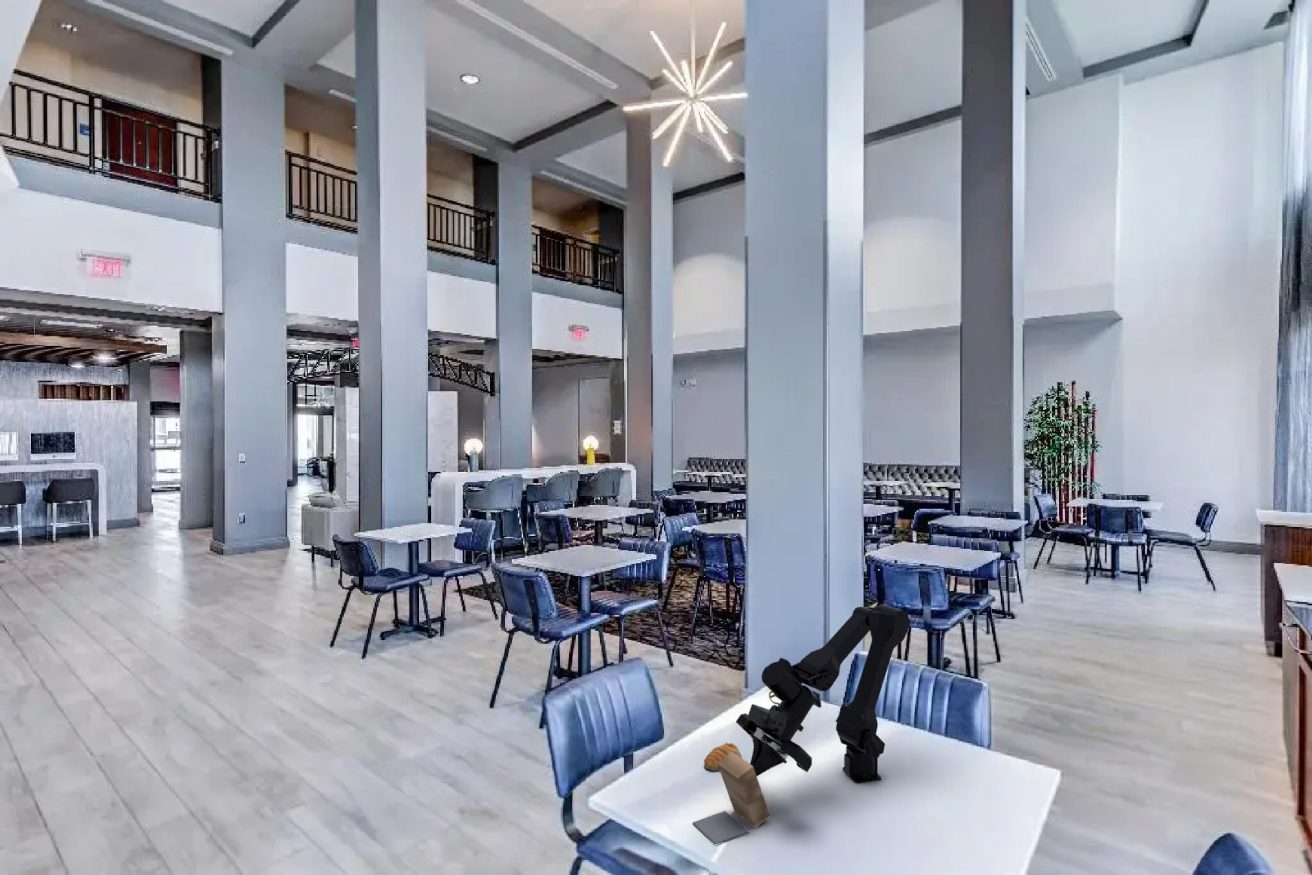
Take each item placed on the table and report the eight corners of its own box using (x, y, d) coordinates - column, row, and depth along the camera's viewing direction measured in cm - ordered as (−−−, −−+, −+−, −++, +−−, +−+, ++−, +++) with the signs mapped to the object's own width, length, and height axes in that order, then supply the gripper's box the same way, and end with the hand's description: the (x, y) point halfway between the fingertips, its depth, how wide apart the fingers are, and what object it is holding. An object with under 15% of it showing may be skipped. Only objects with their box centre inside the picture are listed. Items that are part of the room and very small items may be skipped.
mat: (725, 812, 140) (725, 810, 140) (749, 832, 133) (749, 830, 133) (692, 824, 136) (692, 822, 136) (715, 845, 129) (715, 843, 129)
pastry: (718, 777, 154) (717, 760, 154) (696, 766, 159) (696, 750, 159) (744, 762, 161) (744, 746, 161) (723, 753, 166) (722, 737, 166)
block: (748, 799, 142) (731, 751, 140) (770, 815, 136) (753, 766, 134) (734, 811, 140) (717, 762, 138) (755, 828, 134) (737, 778, 132)
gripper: (743, 675, 148) (700, 737, 143) (801, 706, 132) (756, 777, 127) (770, 704, 152) (730, 765, 147) (830, 737, 136) (788, 807, 131)
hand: (749, 777), depth 138 cm, fingers closed
